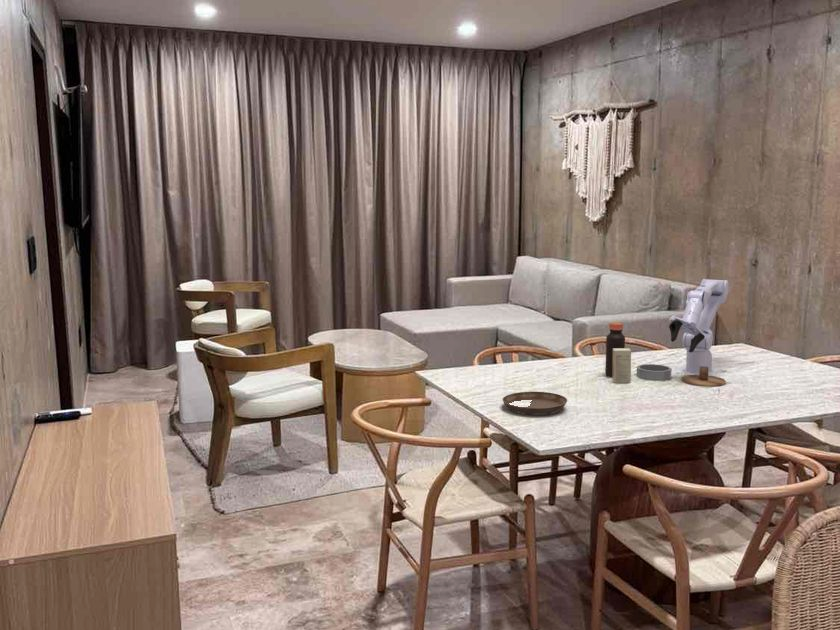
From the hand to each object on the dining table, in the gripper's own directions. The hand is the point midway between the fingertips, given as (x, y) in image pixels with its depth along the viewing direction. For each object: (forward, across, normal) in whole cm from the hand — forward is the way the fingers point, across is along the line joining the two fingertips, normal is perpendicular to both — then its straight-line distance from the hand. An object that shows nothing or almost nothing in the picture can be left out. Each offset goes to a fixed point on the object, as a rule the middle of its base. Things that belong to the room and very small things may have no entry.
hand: (682, 345), depth 280 cm
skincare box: (+16, -10, +16) cm, 25 cm away
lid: (+5, +14, +5) cm, 16 cm away
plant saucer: (+52, -41, +1) cm, 66 cm away
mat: (+6, +14, +5) cm, 16 cm away
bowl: (+7, +1, +16) cm, 18 cm away
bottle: (+10, -11, +24) cm, 28 cm away
